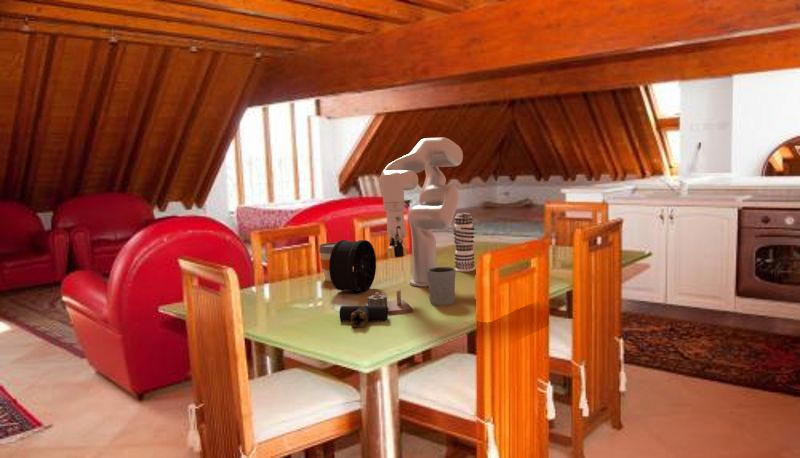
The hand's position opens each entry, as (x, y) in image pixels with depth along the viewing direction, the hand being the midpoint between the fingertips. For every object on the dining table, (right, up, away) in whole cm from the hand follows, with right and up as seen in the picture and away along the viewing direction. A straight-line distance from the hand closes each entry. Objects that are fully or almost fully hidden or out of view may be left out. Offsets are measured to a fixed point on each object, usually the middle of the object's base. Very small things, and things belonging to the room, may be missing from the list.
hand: (396, 254), depth 235 cm
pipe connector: (-11, -21, -29) cm, 38 cm away
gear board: (-3, -18, -14) cm, 23 cm away
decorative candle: (+30, -9, +49) cm, 58 cm away
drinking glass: (+16, -17, -8) cm, 25 cm away
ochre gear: (0, -1, 0) cm, 1 cm away
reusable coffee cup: (-27, -12, +40) cm, 50 cm away
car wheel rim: (-17, -15, +17) cm, 28 cm away
